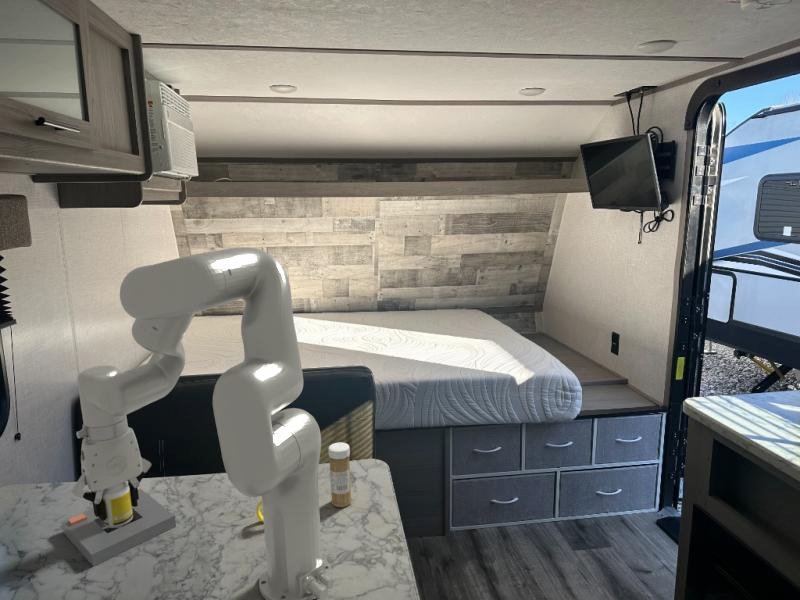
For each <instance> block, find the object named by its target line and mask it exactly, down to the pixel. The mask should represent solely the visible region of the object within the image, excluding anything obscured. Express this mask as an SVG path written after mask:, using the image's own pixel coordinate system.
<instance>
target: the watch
mask: <svg viewBox="0 0 800 600" xmlns="http://www.w3.org/2000/svg"><path fill="white" fill-rule="evenodd" d="M261 505H262V499H260V501H259V502H258V504H257V507H256V515H257V518H258V519H259V521H261V522H262V523H264V521H263V513H262V511H261Z"/></svg>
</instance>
